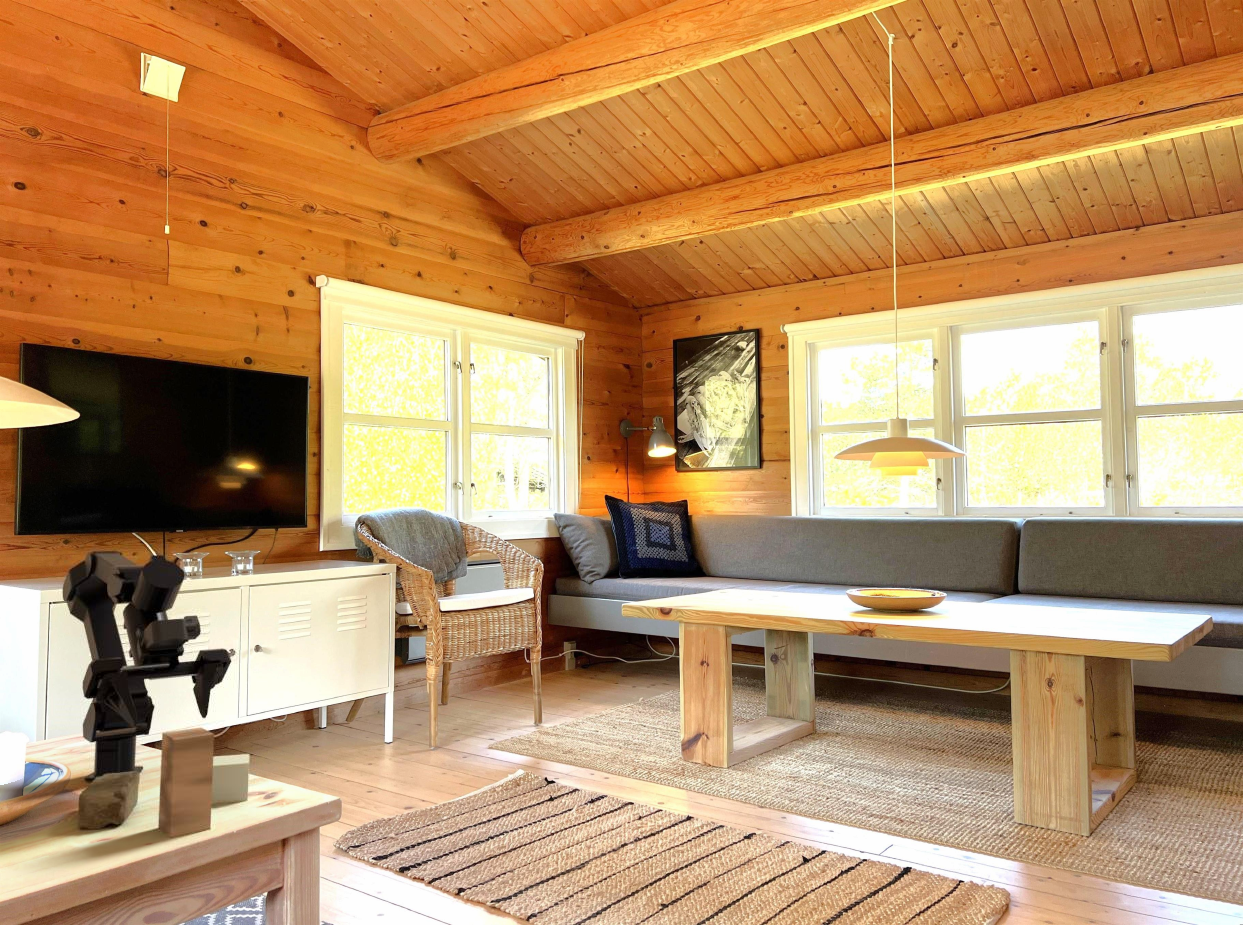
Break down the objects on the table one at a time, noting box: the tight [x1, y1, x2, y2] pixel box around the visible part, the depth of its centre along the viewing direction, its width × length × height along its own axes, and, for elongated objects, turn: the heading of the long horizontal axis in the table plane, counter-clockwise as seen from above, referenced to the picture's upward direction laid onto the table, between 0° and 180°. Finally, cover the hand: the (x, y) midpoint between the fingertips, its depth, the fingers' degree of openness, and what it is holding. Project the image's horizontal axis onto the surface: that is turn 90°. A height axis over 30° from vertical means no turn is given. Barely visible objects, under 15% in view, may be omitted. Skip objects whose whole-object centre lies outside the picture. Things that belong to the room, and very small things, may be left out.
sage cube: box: [211, 753, 250, 805], centre depth 138 cm, size 6×6×6 cm
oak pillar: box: [158, 727, 215, 838], centre depth 125 cm, size 5×5×12 cm
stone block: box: [77, 771, 141, 830], centre depth 129 cm, size 6×12×5 cm, turn 18°
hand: (171, 721), depth 130 cm, fingers open, 9 cm apart
